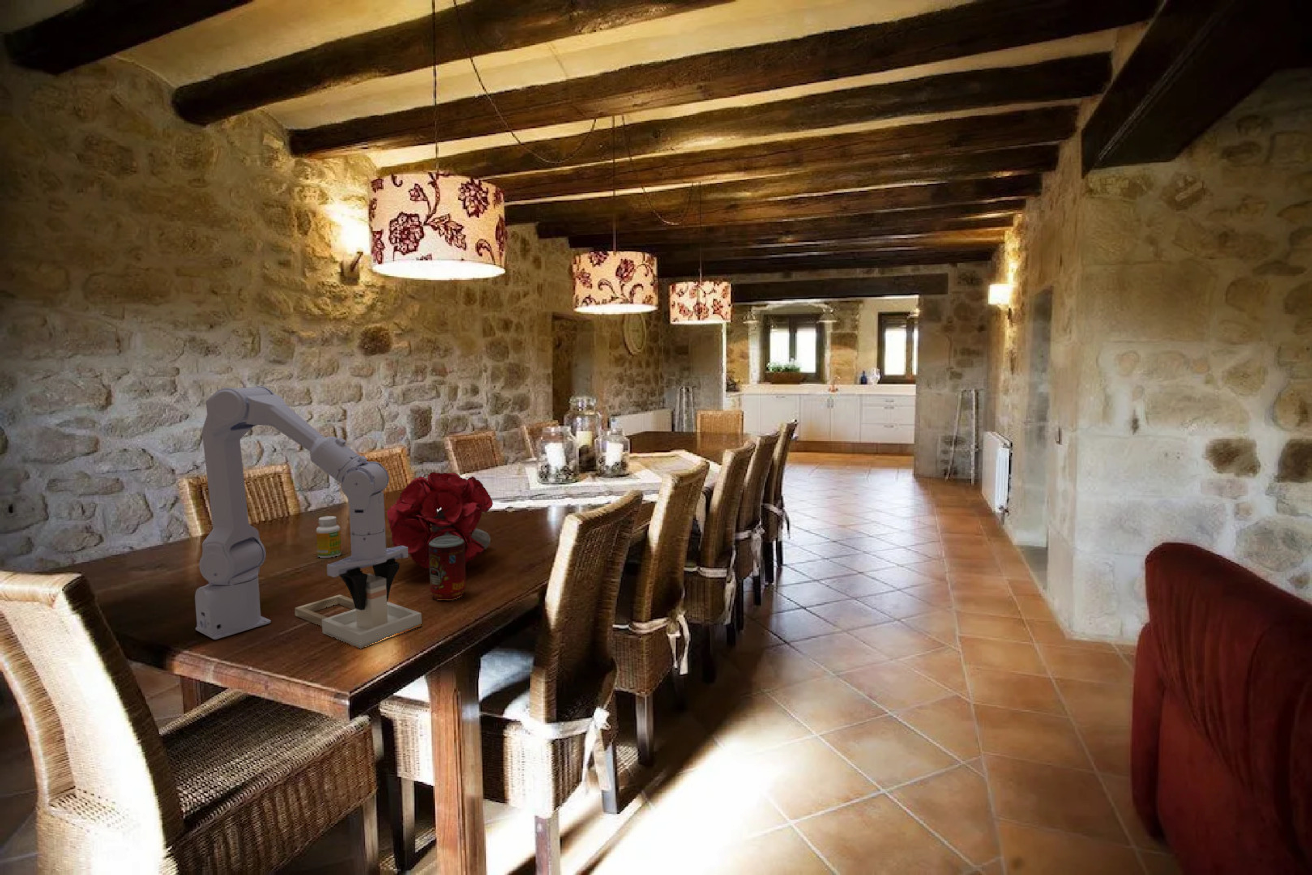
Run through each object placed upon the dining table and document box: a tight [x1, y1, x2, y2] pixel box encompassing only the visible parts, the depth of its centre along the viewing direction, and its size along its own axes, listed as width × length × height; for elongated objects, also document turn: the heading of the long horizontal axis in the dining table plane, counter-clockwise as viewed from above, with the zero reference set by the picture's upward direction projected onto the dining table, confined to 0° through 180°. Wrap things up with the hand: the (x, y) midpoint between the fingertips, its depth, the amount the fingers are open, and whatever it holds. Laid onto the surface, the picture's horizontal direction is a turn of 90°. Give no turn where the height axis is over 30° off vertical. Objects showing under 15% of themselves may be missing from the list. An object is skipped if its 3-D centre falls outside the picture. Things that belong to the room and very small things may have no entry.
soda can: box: [429, 535, 467, 600], centre depth 136 cm, size 7×7×12 cm
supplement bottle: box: [315, 515, 342, 559], centre depth 165 cm, size 5×5×10 cm
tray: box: [321, 601, 423, 650], centre depth 119 cm, size 12×12×2 cm
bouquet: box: [386, 471, 494, 570], centre depth 158 cm, size 22×24×30 cm
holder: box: [294, 594, 356, 627], centre depth 127 cm, size 9×11×2 cm
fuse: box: [356, 572, 388, 630], centre depth 119 cm, size 3×5×9 cm, turn 55°
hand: (371, 605), depth 119 cm, fingers open, 4 cm apart
